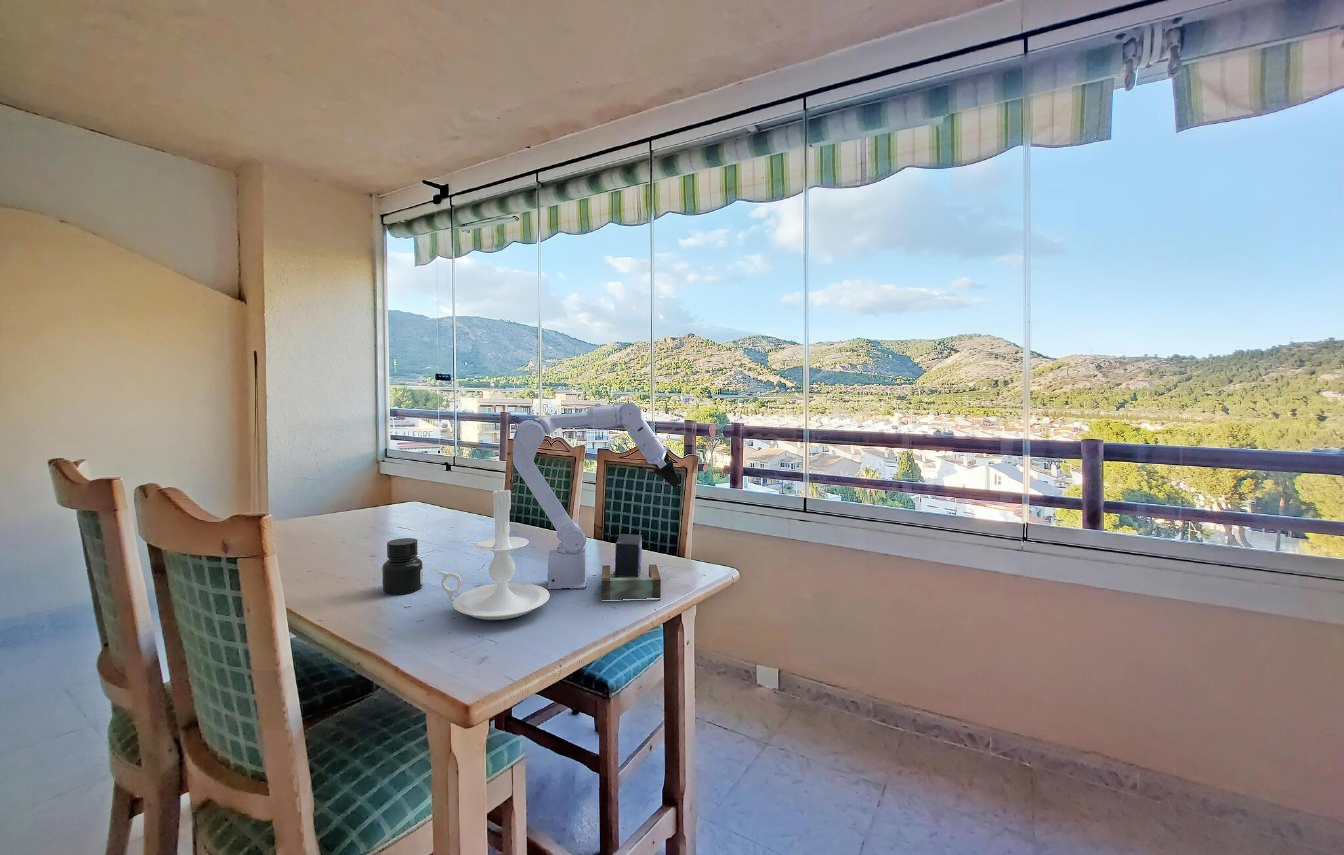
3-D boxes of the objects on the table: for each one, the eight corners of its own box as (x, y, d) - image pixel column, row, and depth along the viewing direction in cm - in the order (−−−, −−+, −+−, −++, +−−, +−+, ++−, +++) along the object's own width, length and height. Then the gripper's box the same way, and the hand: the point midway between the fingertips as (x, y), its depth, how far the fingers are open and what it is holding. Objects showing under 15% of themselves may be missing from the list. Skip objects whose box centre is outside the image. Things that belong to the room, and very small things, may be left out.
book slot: (601, 601, 130) (601, 580, 130) (602, 584, 142) (602, 565, 142) (660, 600, 131) (660, 579, 131) (656, 583, 143) (656, 564, 143)
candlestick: (460, 592, 134) (460, 479, 133) (560, 597, 133) (560, 481, 131) (415, 627, 114) (414, 493, 112) (532, 633, 112) (532, 497, 111)
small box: (639, 583, 143) (639, 543, 143) (614, 583, 143) (614, 543, 143) (642, 570, 154) (642, 533, 153) (618, 570, 154) (619, 533, 153)
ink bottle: (431, 587, 138) (431, 539, 138) (401, 598, 130) (400, 548, 130) (404, 581, 142) (403, 535, 142) (373, 591, 134) (372, 543, 134)
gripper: (662, 438, 139) (691, 480, 142) (656, 427, 153) (682, 466, 156) (639, 454, 139) (669, 495, 142) (635, 442, 153) (662, 480, 156)
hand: (674, 481), depth 149 cm, fingers open, 7 cm apart
